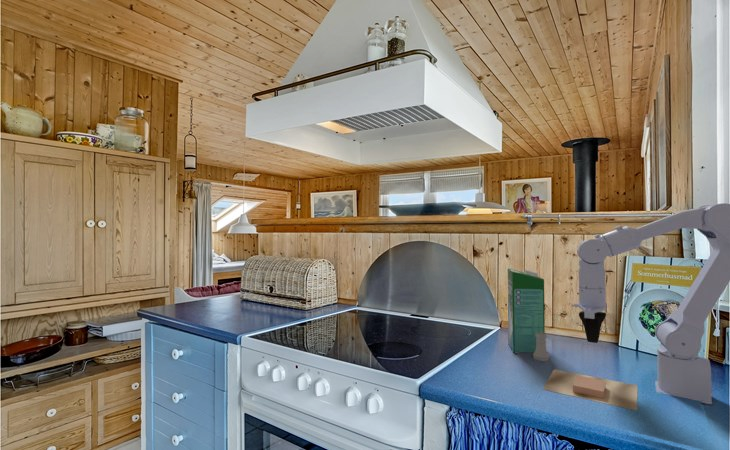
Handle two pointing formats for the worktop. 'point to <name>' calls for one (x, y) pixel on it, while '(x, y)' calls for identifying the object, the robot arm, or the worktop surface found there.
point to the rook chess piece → (541, 347)
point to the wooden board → (613, 395)
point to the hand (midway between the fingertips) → (592, 341)
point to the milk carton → (525, 309)
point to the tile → (589, 386)
